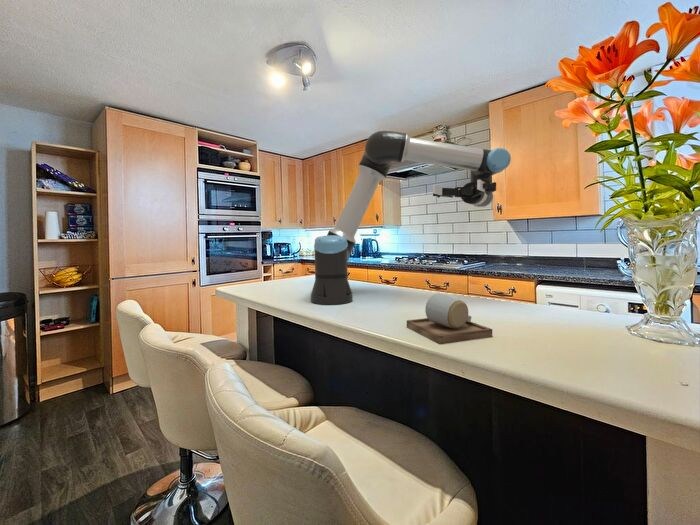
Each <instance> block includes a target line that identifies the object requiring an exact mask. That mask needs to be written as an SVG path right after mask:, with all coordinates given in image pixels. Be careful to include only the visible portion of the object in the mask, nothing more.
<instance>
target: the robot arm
mask: <svg viewBox="0 0 700 525" xmlns="http://www.w3.org/2000/svg"><path fill="white" fill-rule="evenodd" d="M511 160H512V158H511V153H510V152H509V151H508V150H507V149H506V148H503V147H497V148H494V149H484V148H478V147H472V146H467V145H466V146H465V145H459V144H454V143H447V142H442V141H441V142H440V141H436V140H435V141H434V140H429V139H423V138H422V139H421V138H416V137H410V136H409V134H408V133H406V132H405V133H404V132H401V131H400V132H399V131H393V130H378V131H376V132H373V133H372V134H371V135H370V136H369V137H368V138H367V140H366V142H365V146H364V152H363V155H362V156H361V160H360V162H359V164H358V166H357V167H358V170H359V173H358V175H357V178H356V180H355V182H354V184H353V187H352V189H351V191H350V193H349V194H348V195H349V196H348V198H347V199H346V202H345V204H344V206H343V208H342V210H341V213H340V215H339V217H338V219H337V221H336V224H335V225H334V226H335V227H334V228H331V229H329V230H328V233H327V235H320V236H318V237H316V238H315V239H314V245H313V248H314V275H315V276H314V277H315V278H314V282H313V286H312V290H311V293H310V302H312V303H313V304H317V305H344V304H348V303H350V302H353V300H354V299H353V296H354V295H353V292H352V288H351V285H350V283H349V280H348V261H349V259H350V257H351V253H352V251H353V249H354V246H355V244H356V240H355V236H356V234H357V231H358V230H359V228H360V224H361V223H362V220H363V218H364V216H365V215H366V212H367V210H368V208H369V205H370V203H371V201H372V199H373V197H374V195H375V192H376V191H377V189H378V186H379V184H380V182H383V181H384V180H386V178H387V175H388V174H389V171H390V169H391V168H392V166H393V164H394V162H395V163H403V162H404V161H407V162H416V163H422V164H428V165H433V166H439V167H447V168H453V169H460V170H466V171H470V172H469V174H470V176H469V177H470V180H469V181H470V182H467V183H466V184H464V185H463V186H455V187H443V186H441V185H438V184H432V196H433V197H437V198H438V199H439V198H441V197H443V198H451V199H452V198H460V199H461V200H462V202H464V203H466V204H469V205H472V206H474V207H477V208H481V207H482V208H485V207H488V206H489V205H490V204H491V203H492V201H493V199H494V194H493V193H494V192H496V191H497V182H496V181H493V182H492V176H494V175H497V174H499V173H502V172H503V171H504V170H506V169H507V168H508V167H509V166H510V164H511Z"/></svg>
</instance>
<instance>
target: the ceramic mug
mask: <svg viewBox="0 0 700 525" xmlns="http://www.w3.org/2000/svg"><path fill="white" fill-rule="evenodd" d="M425 304H426V305H425V310H424V312H425V316H426V318H428V319H429V320H430V321H431V322H434V323H437V324H440V325H443V326H446V327H449V328H455V329H456V328H460V327H462V326H463V325H464V324H465V322H466V321H467V322H472V316H471V315H469V308H468V305H467V303H465V302H464V301H463V300H461V299H460V298H457V297H452V296H449V295H447V294H443V293H440V292H435V293H434V294H432V295H430V296H429V298H428V300H427V302H426V303H425Z"/></svg>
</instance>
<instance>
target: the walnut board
mask: <svg viewBox="0 0 700 525" xmlns="http://www.w3.org/2000/svg"><path fill="white" fill-rule="evenodd" d="M406 328H408V329H410V330H412V331H414V333H415V332H416V333H418V335H421V336H423V337H425V338H427V339H429V340H431V341H432V342H435V343H437V344H439V345H442V344H451V343H456V342H457V343H458V342H463V341H471V340H479V339H483V338H485V339H486V338H492V337H493V329H492V328H490V327H487V326H485V325H483V324H482V325H481V324H478V323H476V322H473V321H470V322H467V321H466V322H465V324H464V325H463V326H462V327H460V328H456V329H455V328H449V327H446V326H443V325H440V324H437V323H434V322H431V321H430V320H429V319H428V318H427V317H425V318H417V319H407V320H406Z"/></svg>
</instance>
